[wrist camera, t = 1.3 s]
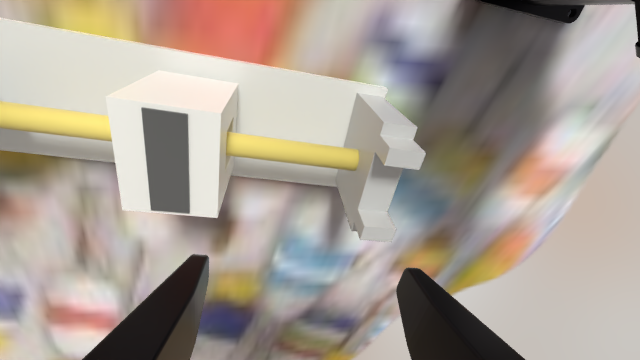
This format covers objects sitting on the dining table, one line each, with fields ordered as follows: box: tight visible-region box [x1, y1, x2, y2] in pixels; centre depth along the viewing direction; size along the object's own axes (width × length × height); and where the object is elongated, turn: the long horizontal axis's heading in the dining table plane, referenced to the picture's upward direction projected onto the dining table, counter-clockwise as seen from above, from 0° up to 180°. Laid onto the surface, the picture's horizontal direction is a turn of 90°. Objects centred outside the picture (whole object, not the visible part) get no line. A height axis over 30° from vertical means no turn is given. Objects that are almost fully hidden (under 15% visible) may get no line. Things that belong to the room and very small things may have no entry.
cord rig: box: [0, 18, 426, 242], centre depth 14 cm, size 25×7×7 cm, turn 79°
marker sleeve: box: [106, 70, 238, 218], centre depth 15 cm, size 4×5×6 cm
